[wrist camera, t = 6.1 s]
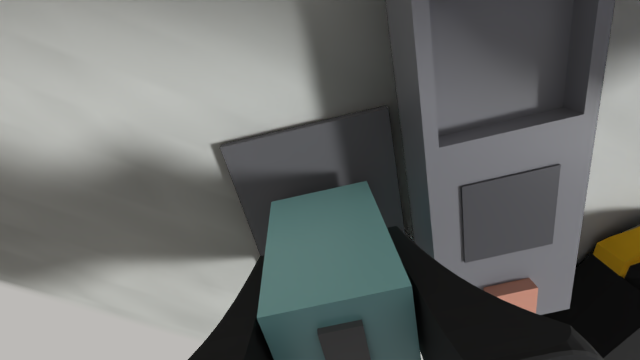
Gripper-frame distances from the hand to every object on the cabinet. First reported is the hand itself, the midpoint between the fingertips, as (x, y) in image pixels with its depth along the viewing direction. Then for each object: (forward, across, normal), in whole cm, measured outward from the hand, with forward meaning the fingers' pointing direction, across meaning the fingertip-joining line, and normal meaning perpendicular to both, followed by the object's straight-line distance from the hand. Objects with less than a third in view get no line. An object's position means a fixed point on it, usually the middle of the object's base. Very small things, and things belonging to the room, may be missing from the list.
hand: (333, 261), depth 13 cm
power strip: (+3, -7, -2) cm, 8 cm away
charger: (+2, 0, 0) cm, 2 cm away
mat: (+3, 0, 0) cm, 3 cm away
